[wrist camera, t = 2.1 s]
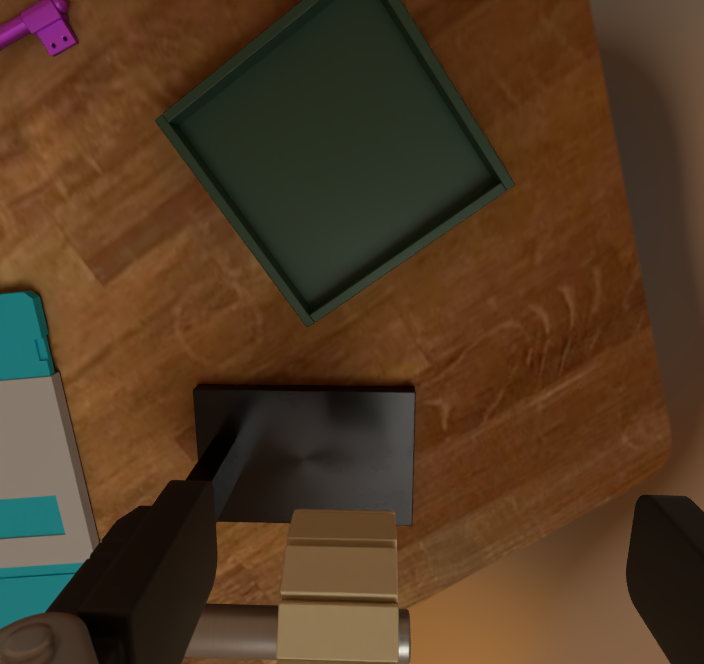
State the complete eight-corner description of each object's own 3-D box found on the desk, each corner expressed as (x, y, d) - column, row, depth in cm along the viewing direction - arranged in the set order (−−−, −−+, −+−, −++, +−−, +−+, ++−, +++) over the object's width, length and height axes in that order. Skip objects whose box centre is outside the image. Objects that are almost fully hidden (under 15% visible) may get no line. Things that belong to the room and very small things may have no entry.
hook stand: (414, 386, 39) (449, 561, 20) (411, 516, 41) (439, 780, 23) (198, 383, 39) (39, 551, 21) (207, 512, 42) (72, 765, 23)
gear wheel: (393, 477, 28) (400, 595, 20) (391, 621, 30) (396, 783, 22) (302, 475, 28) (272, 592, 20) (306, 619, 30) (280, 778, 22)
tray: (368, -37, 33) (367, -54, 30) (507, 185, 35) (515, 184, 33) (168, 124, 35) (154, 120, 33) (311, 320, 38) (306, 328, 36)
